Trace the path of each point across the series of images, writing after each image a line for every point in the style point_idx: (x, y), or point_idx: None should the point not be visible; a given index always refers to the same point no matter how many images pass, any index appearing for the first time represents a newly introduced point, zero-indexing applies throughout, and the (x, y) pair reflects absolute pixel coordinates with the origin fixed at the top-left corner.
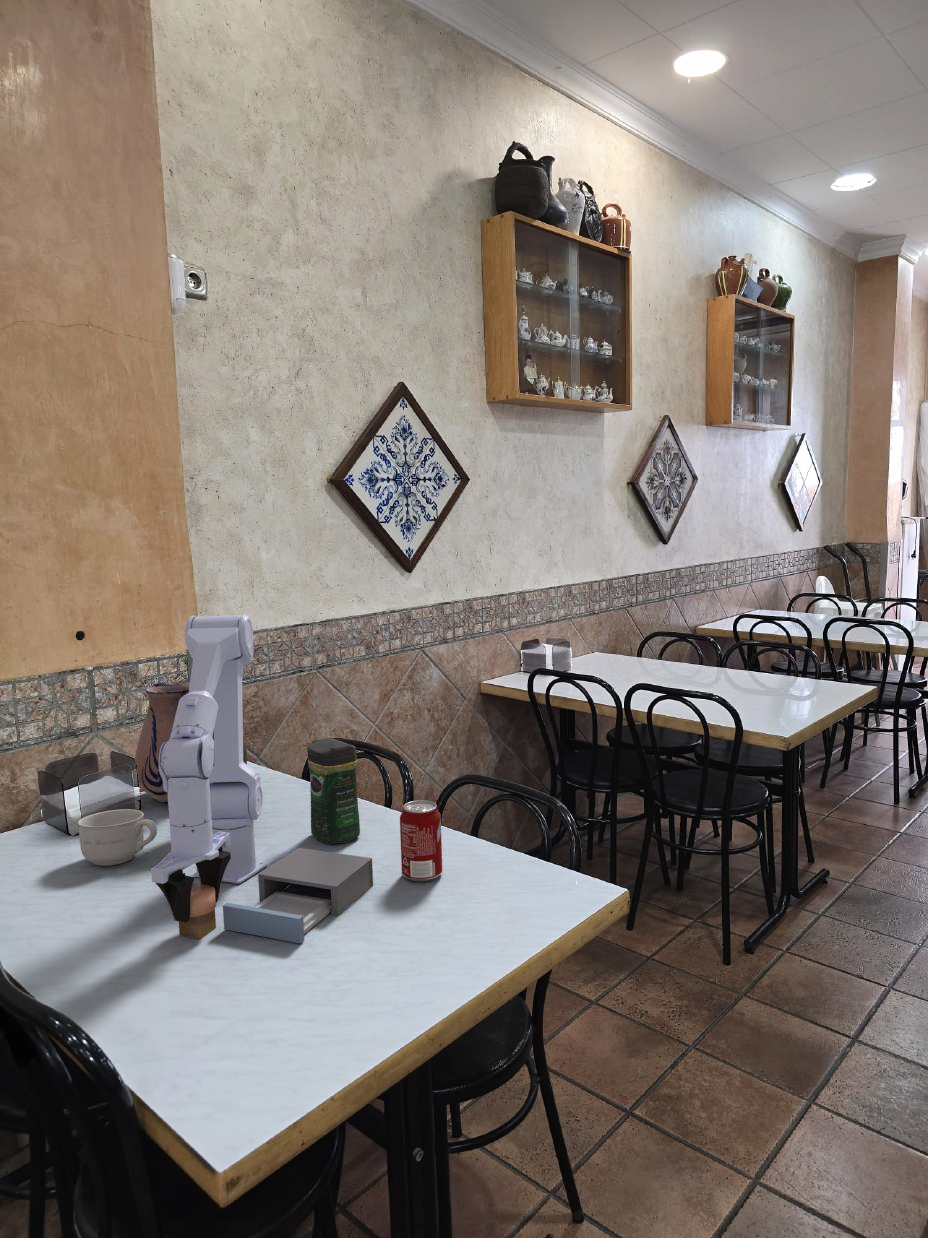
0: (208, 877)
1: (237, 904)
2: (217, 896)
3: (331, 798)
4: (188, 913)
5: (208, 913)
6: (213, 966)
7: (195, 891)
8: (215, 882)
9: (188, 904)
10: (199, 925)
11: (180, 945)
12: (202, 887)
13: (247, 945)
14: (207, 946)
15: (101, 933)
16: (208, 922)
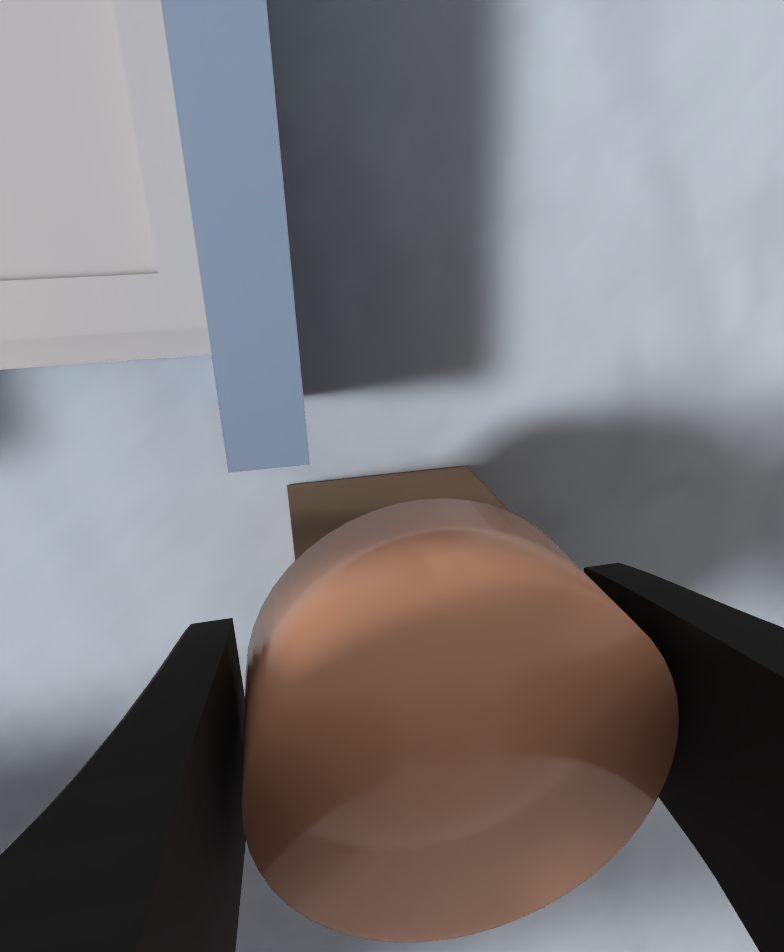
0: (210, 931)
1: (214, 313)
2: (198, 645)
3: None
4: (654, 587)
5: None
6: (751, 84)
7: (452, 803)
8: (197, 783)
9: (731, 631)
10: (494, 504)
11: (564, 518)
12: (332, 822)
13: (414, 17)
14: (526, 343)
15: (567, 926)
16: (380, 506)
